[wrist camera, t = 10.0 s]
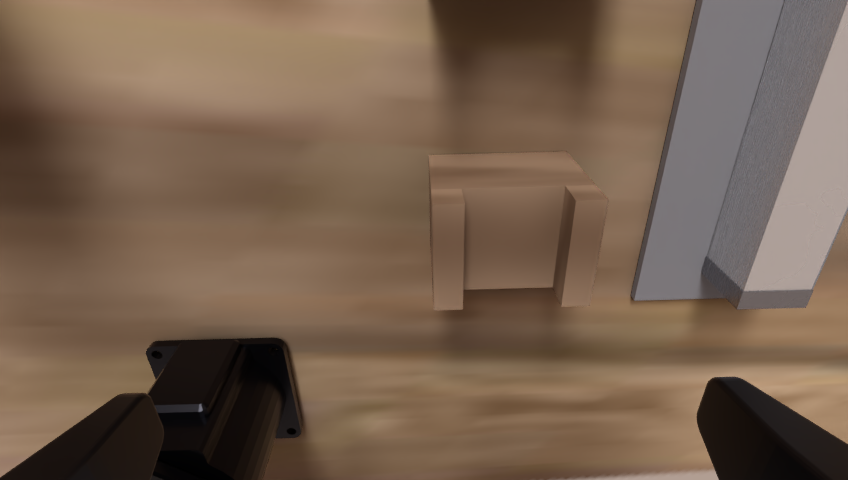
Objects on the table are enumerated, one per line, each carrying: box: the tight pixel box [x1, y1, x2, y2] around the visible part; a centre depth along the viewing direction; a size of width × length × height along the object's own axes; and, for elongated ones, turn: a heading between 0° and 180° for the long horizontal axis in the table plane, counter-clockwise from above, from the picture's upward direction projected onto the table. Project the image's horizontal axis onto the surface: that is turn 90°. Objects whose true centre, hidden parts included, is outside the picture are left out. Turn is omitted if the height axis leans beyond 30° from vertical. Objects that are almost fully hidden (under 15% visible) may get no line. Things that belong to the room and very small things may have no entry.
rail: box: [701, 0, 848, 309], centre depth 16 cm, size 17×3×3 cm, turn 1°
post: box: [429, 151, 609, 310], centre depth 18 cm, size 4×5×5 cm
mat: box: [631, 0, 848, 301], centre depth 17 cm, size 20×8×1 cm, turn 1°
